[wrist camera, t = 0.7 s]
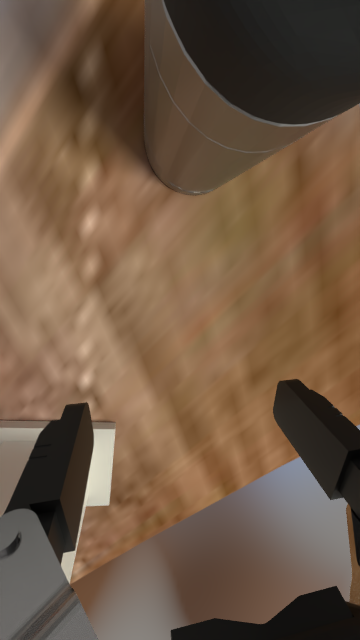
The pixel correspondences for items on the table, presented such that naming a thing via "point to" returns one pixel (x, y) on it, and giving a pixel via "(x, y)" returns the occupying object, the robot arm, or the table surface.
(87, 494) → the shelf stand
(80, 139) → the table surface
